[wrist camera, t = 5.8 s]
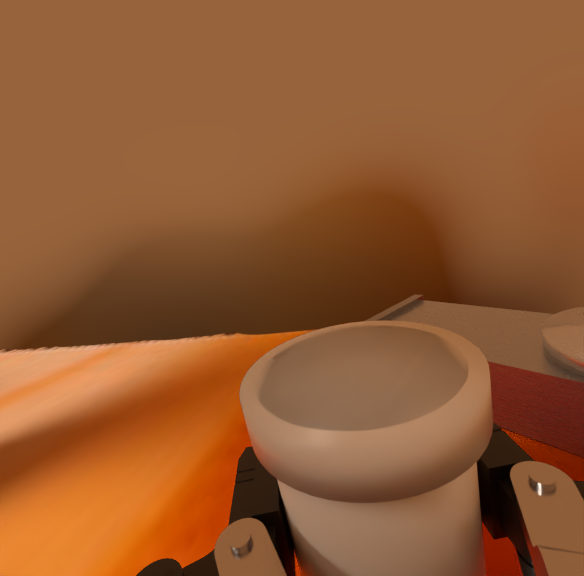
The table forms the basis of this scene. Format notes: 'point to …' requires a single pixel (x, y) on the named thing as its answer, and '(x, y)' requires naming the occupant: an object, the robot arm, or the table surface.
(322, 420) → the white flanged cylinder
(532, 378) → the grey soap dish block
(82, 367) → the table surface
